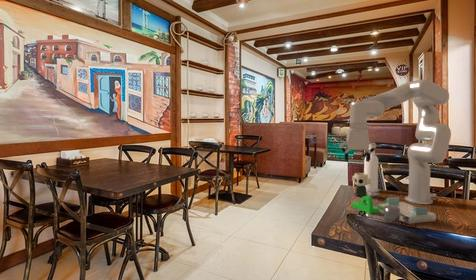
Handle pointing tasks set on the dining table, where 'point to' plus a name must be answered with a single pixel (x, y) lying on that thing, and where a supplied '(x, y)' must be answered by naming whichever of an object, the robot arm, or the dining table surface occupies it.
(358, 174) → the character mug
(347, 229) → the dining table surface
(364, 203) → the mechanical part
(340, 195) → the dining table surface
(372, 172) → the bottle
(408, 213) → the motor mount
